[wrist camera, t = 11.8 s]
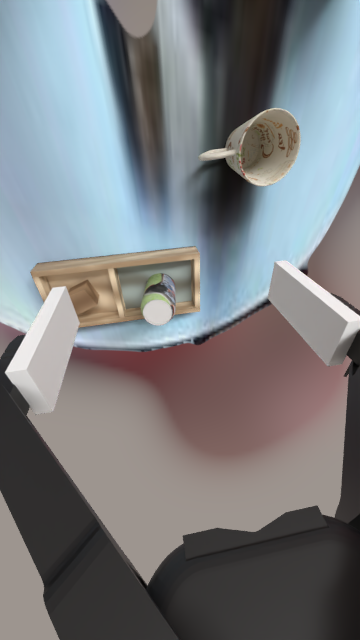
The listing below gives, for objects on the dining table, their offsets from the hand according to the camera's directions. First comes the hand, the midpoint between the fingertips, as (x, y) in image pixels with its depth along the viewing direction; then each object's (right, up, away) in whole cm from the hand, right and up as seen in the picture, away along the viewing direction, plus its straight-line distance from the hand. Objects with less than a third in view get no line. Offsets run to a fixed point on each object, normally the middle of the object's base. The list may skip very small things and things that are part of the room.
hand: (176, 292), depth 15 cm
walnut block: (-19, +4, +33) cm, 38 cm away
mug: (+8, +26, +24) cm, 36 cm away
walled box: (-11, +6, +35) cm, 37 cm away
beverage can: (-4, +6, +34) cm, 35 cm away
